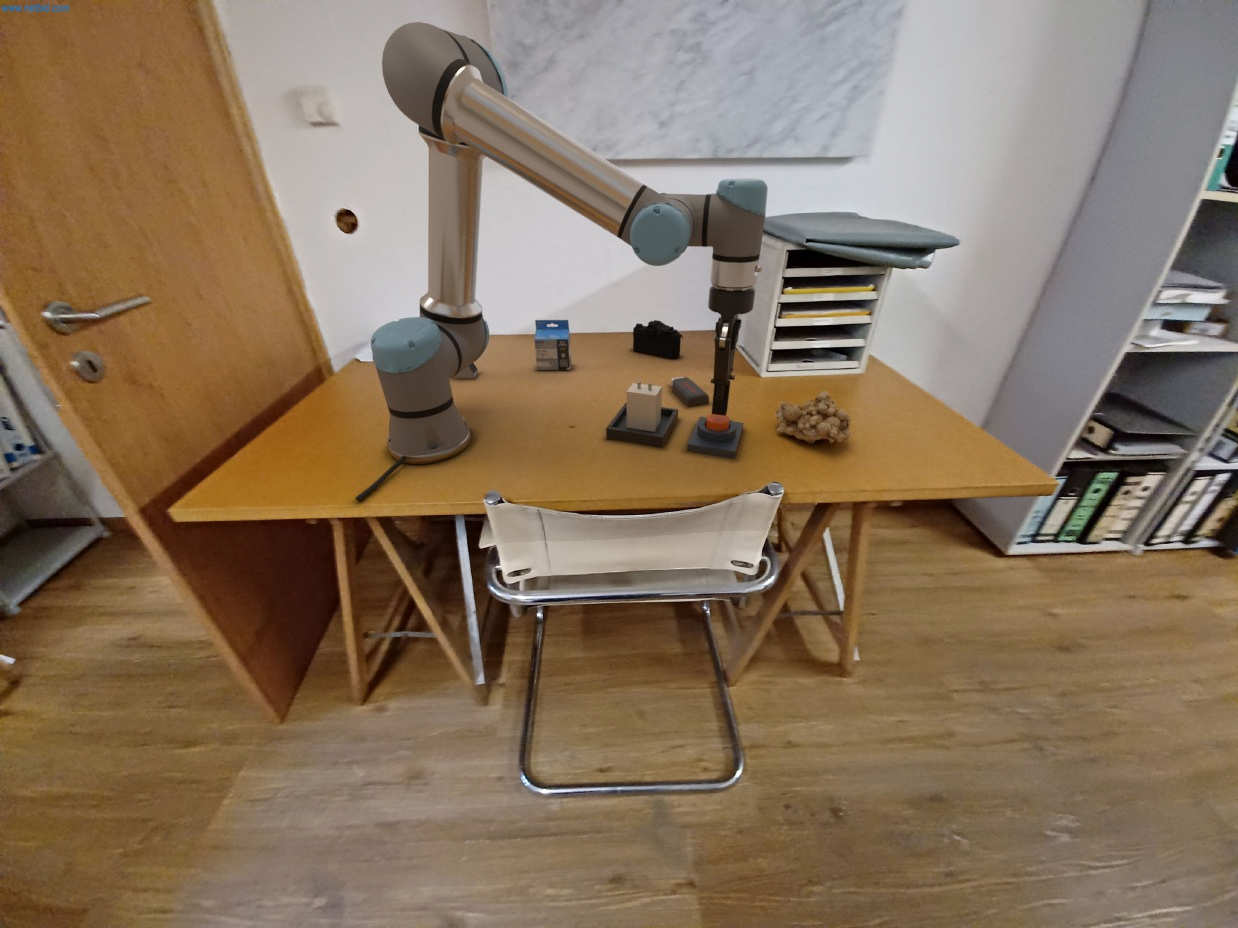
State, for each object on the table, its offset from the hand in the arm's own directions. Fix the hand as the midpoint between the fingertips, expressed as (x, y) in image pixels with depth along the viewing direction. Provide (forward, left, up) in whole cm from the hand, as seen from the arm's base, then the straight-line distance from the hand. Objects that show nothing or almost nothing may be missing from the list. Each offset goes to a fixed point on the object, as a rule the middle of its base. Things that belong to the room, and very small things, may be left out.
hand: (719, 413), depth 95 cm
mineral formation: (+7, -18, -6) cm, 20 cm away
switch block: (0, 0, -6) cm, 6 cm away
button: (0, 0, -3) cm, 3 cm away
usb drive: (+19, +10, -6) cm, 22 cm away
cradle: (0, +15, -6) cm, 16 cm away
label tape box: (+25, +47, -6) cm, 54 cm away
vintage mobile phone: (+13, +66, -6) cm, 68 cm away
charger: (0, +15, -5) cm, 16 cm away
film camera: (+46, +24, -6) cm, 52 cm away
